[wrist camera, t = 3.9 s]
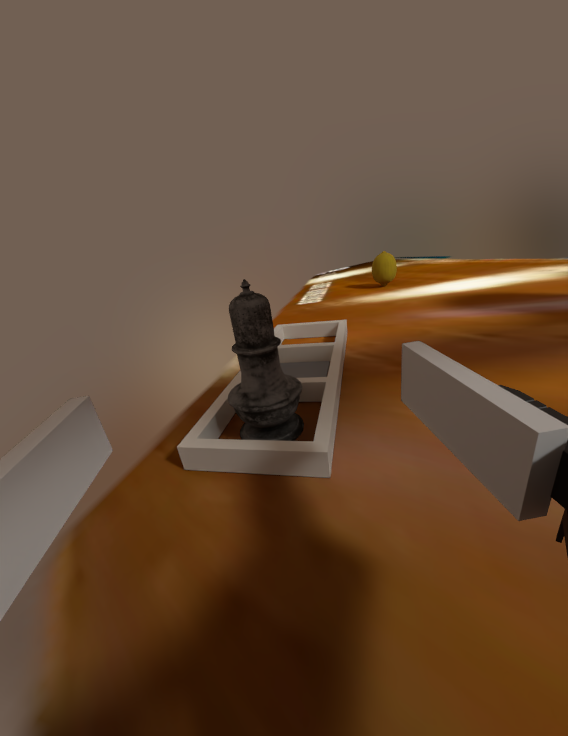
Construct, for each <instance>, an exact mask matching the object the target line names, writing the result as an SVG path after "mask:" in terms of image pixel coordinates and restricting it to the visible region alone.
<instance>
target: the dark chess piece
mask: <svg viewBox="0 0 568 736" xmlns="http://www.w3.org/2000/svg"><path fill="white" fill-rule="evenodd" d="M249 286H250V284H248V282H247V281H246V280H245V279H244V280H243V282H242V286H241V287H242V288H243V292H241V293H240V295H239V296H237V297H235V298H234V299H233V300H232V301H231V303H230V305H229V313H230V318H231V322H232V327H233V332H234V336H235V341H236V343H235V344H234V345H233V346H232V351H233V352H234V353H236V354H237V356H238V360H239V365H240V370H241V383H239V384H237V385H236V386H235V387H234V388H233V389H231V391H230V393H229V394H228V399H227V400H228V402H229V404H230V405H231V406H232V407H233V408H234V410H235V412H236V414H237V415H238V416H239V417H240V419H241V420H242V421H244V422H245V423H244V425H243V426H242V428H241V430H240V437H241V439H242V440H274V441H294V440H295V439H296V438H297V437H299V436H300V434H301V433H302V431H303V427H304V423H303V420H302V418H301V417H300V416H299V415H297V414H296V413H295V411H296V410H297V406H298V403H299V399H300V394H301V392H302V388H303V386H302V384H301V382H300V381H299V380H298V379H297V378H295V377H293V376H290V375H285V374H284V373H283V371H282V368H281V366H280V359H279V353H278V346H279V345H280V343H281V340H280V339H279V338H278V337H275V335H274V328H273V322H272V316H271V309H270V304H269V302H268V299H267V298H266V297H265V296H263V295H261V294H259V293H254V292H253V291H250V289H249Z"/></svg>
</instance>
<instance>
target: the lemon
mask: <svg viewBox="0 0 568 736" xmlns="http://www.w3.org/2000/svg"><path fill="white" fill-rule="evenodd" d="M396 270H397V266H396V261H395V258H394V257H393V256H392V255H391V254H389V253H386V252H385V251H383V252H382V253H381V254H379V255H378V256H377V257H376V258H375V259H374V261H373V265H372V275H373V278H374V280H375V281H376V282H378V283H380V284H381V285H382V286H386V285H387V284H388V283H389V282H391V281H392V280H393V279H394V277H395V275H396Z"/></svg>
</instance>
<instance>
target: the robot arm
mask: <svg viewBox="0 0 568 736" xmlns="http://www.w3.org/2000/svg"><path fill="white" fill-rule="evenodd" d="M401 401H402V402H403V403H404V404H405V405H406V406H407V407H408V408H409V409H410V410H411V411H412V412H413V413H414V414H415V415H416V416H417V417H418V418H419V419H420V420H421V421H422V422H423V423H424V424H425V425H426V426H427V427H428V428H429V429H430V430H431V431H432V432H433V433H434V434H435V436H436V437H437V438H438V439H439V440H440V441H441V442H442V443H443V444H444V445H445V446H446V447H447V448H448V449H449V450H450V451H451V452H452V453H453V454H454V455H455V456H456V457H457V458H458V459H459V460H460V461H461V462H462V463H463V464H464V465H465V466H466V467H467V468H468V469H469V471H470V472H471V473H472V474H473V475H474V476H475V477H476V478H477V479H478V480H479V481H480V482H481V483H482V484H483V485H484V486H485V487H486V488H487V489H488V490H489V491H490V492H491V493H492V494H493V495H494V496H495V497H496V498H497V499H498V500H499V501H500V502H501V503H502V504H503V506H504V507H505V508H506V509H507V510H508V511H509V512H510V513H511V514H512V515H513V516H514V517H515V518H516V519H517V520H518V521H522V520H527V519H532V518H537V517H542V516H547V512H548V508H549V505H550V501H551V498H553V499H554V500H555V501H557V502H558V503H559V504H560V505H561V506H563V507H564V508H565V510H564V514H563V517H562V520H561V523H560V527H559V530H558V533H557V537H556V541H557V542H560V543H562V539H563V537H564V536H565V543H566V549H567V556H568V417H566V416H565V415H563V414H561V413H559V412H557V411H555V410H553V409H552V408H550V407H548V408H547V407H546V405H544V404H542V403H541V402H539V401H537V400H536V401H534V399H533V398H531V397H530V396H528V395H526V394H524V393H522V392H520V391H518V390H515V389H512V388H509V387H506V386H502V385H496V384H494V383H493V382H491V381H489V380H487V379H486V378H484V377H482V376H480V375H479V374H477V373H475V372H473V371H472V370H470V369H468V368H466V367H465V366H463V365H461V364H459V363H458V362H456V361H454V360H452V359H451V358H449V357H447V356H445V355H444V354H442V353H440V352H438V351H437V350H435V349H433V348H431V347H430V346H428V345H426V344H424V343H422V342H421V341H415V342H409V343H403V344H402V380H401ZM112 451H113V450H112V447H111V445H110V443H109V440H108V438H107V436H106V434H105V431H104V429H103V427H102V424H101V422H100V420H99V417H98V415H97V413H96V411H95V408H94V406H93V404H92V401H91V399H90V397H89V396H83V397H77V398H71V399H69V400H68V401H67V402H65V403H64V404H63V405H62V406H61V407H60V408H58V409H57V410H56V411H55V412H54V413H53V414H52V415H50V416H49V417H48V418H47V419H46V420H45V421H43V422H42V423H41V424H40V425H39V426H38V427H37V428H35V429H34V430H33V431H32V432H31V433H30V434H29V435H27V436H26V437H25V438H24V439H23V440H21V441H20V442H19V443H18V444H17V445H16V446H15V447H13V448H12V449H11V450H10V451H9V452H8V453H6V454H5V455H4V456H3V457H2V458H1V459H0V621H1V619H2V618H3V616H4V615H5V613H6V612H7V610H8V609H9V607H10V606H11V604H12V603H13V601H14V600H15V598H16V597H17V595H18V594H19V592H20V591H21V589H22V588H23V586H24V584H25V583H26V581H27V580H28V578H29V577H30V575H31V574H32V572H33V571H34V569H35V568H36V566H37V565H38V563H39V562H40V560H41V559H42V557H43V556H44V554H45V553H46V551H47V550H48V548H49V547H50V545H51V544H52V542H53V541H54V539H55V538H56V536H57V534H58V533H59V531H60V530H61V528H62V527H63V525H64V524H65V522H66V521H67V519H68V518H69V516H70V515H71V513H72V512H73V510H74V509H75V507H76V506H77V504H78V503H79V501H80V500H81V498H82V496H83V495H84V494H85V492H86V490H87V489H88V487H89V486H90V484H91V483H92V481H93V480H94V478H95V477H96V475H97V474H98V472H99V471H100V469H101V468H102V466H103V465H104V463H105V462H106V460H107V458H108V457H109V456H110V454H111V453H112Z"/></svg>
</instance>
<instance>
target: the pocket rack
mask: <svg viewBox="0 0 568 736" xmlns="http://www.w3.org/2000/svg"><path fill="white" fill-rule="evenodd" d="M274 335H275V337H278V338H279V339H280V340H281V343H282V342H283V340H284V339H293V338H309V337H325V336H336V339H335V342H328V343H311V344H294V345H281V343H280V345H279V346H278V353H279V359H280V366H281V368H282V371H283V373H284V374H285V375H290V376H293V377H295V378H297V379H298V380H299V381H300V382H301V384H302V386H303V388H302V392H301V394H300V399H299V402H322V404H321V408H320V413H319V417H318V422H317V427H316V431H315V436H314V441H274V440H234V439H218V438H219V436H220V435H221V433H222V432H223V430H224V429H225V427H226V426H227V424H228V423H229V421H230V420H231V418H232V417H233V415H234V414H235V410H234V408H233V407H232V406H231V405H230V404H229V402H228V400H227V399H228V394H229V393H230V391H231V389H233V388H234V387H235V386H236V385H237V384H239V383H241V370H240V371H239V372H238V374H237V375H236V376H235V377H234V378H233V380H232V381H231V382H230V383H229V385H228V386H227V387H226V388H225V389H224V391H223V392H222V393H221V394H220V395H219V397H218V398H217V399H216V400H215V401H214V403H213V404H212V405H211V406H210V408H209V409H208V410H207V411H206V412H205V414H204V415H203V416H202V417H201V418H200V420H199V421H198V422H197V423H196V424H195V426H194V427H193V428H192V429H191V431H190V432H189V433H188V434H187V435H186V437H185V438H184V439H183V440H182V441H181V443H180V444H179V445H178V446H177V449H178V452H179V455H180V458H181V461H182V464H183V467H184V470H199V471H217V472H235V473H253V474H271V475H289V476H307V477H325V478H330V475H331V466H332V458H333V449H334V441H335V432H336V424H337V416H338V407H339V399H340V390H341V382H342V373H343V365H344V356H345V348H346V339H347V320H337V321H324V322H311V323H297V324H284V325H277V326H276V328H275V329H274ZM330 361H331V362H330ZM329 365H330V367H329ZM328 369H329V371H328ZM327 374H328V376H327Z"/></svg>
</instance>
